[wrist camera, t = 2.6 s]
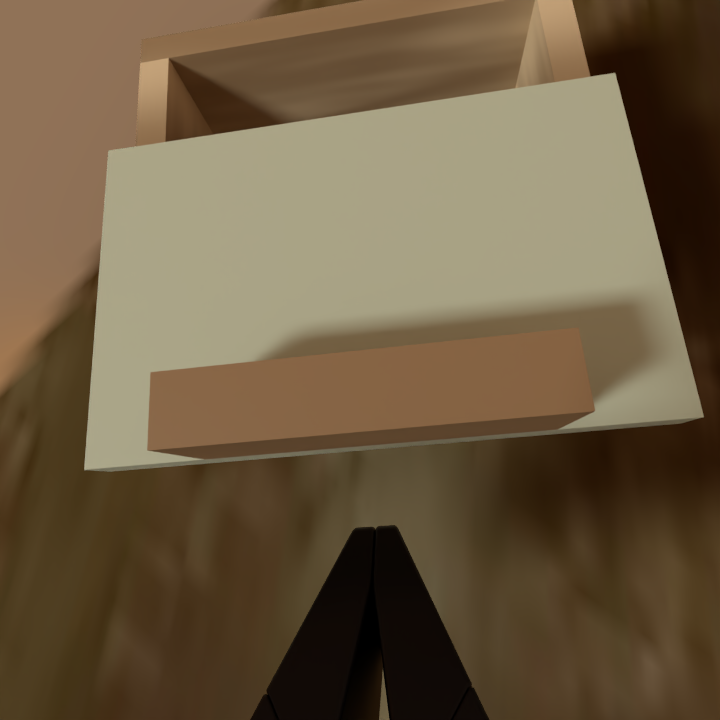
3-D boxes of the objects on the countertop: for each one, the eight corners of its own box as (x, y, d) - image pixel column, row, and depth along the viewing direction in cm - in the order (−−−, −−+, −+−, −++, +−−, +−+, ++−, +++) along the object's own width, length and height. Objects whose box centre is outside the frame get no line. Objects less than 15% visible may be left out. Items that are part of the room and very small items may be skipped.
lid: (680, 423, 11) (785, 394, 8) (109, 471, 13) (-2, 463, 10) (602, 102, 14) (658, -23, 11) (128, 172, 15) (44, 81, 12)
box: (551, 319, 21) (624, 219, 13) (229, 354, 22) (127, 281, 15) (517, 139, 23) (563, -35, 16) (229, 180, 25) (141, 39, 17)
